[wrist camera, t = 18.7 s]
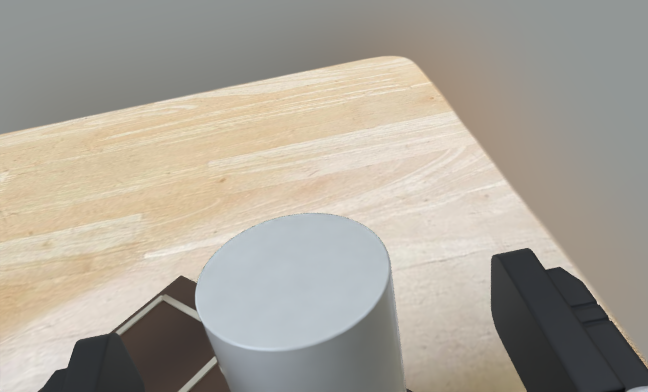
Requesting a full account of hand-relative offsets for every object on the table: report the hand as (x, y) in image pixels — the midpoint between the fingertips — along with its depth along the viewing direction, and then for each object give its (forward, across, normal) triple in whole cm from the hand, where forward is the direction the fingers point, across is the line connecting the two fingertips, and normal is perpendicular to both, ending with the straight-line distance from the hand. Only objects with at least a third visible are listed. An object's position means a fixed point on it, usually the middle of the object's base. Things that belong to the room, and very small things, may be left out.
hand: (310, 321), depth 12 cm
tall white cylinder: (+1, 0, +8) cm, 8 cm away
